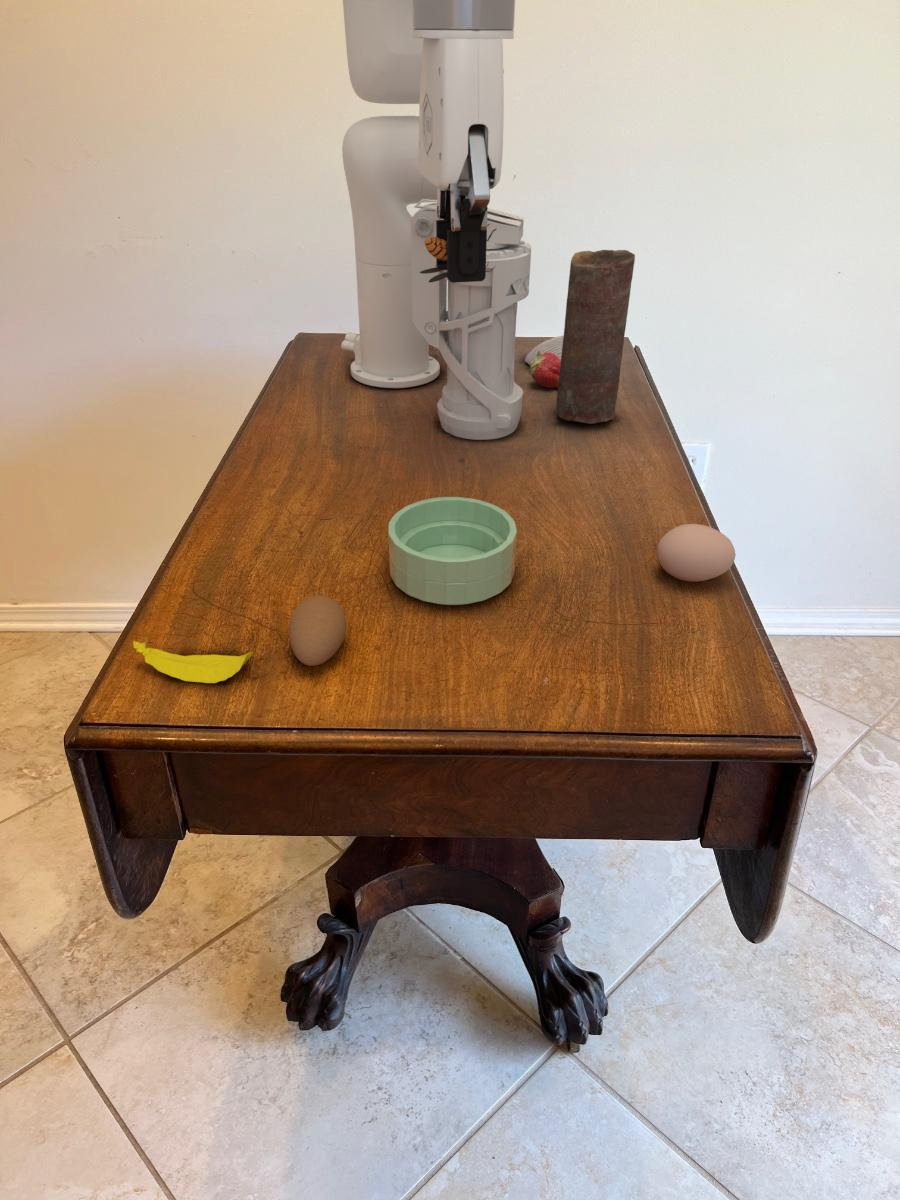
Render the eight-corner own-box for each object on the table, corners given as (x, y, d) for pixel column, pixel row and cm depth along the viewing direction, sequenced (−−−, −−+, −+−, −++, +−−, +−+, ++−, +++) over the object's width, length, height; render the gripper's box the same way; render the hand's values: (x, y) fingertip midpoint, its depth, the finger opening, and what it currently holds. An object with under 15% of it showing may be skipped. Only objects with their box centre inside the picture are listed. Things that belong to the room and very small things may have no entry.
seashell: (602, 356, 115) (532, 337, 115) (589, 392, 119) (521, 374, 119) (601, 332, 124) (536, 314, 123) (590, 366, 127) (526, 349, 127)
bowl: (365, 584, 75) (362, 535, 72) (435, 531, 82) (435, 485, 79) (471, 625, 70) (472, 575, 67) (535, 565, 77) (539, 518, 74)
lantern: (525, 411, 107) (538, 198, 93) (516, 444, 99) (528, 216, 85) (426, 403, 109) (424, 194, 95) (409, 436, 101) (404, 211, 86)
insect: (488, 208, 71) (485, 269, 74) (419, 209, 70) (418, 271, 73) (502, 217, 68) (498, 280, 71) (430, 218, 67) (429, 283, 70)
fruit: (571, 392, 113) (574, 356, 110) (527, 390, 113) (529, 354, 110) (571, 381, 116) (574, 346, 113) (528, 379, 117) (530, 344, 114)
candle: (612, 435, 102) (634, 262, 90) (552, 429, 103) (566, 258, 91) (615, 411, 108) (636, 246, 96) (558, 406, 109) (572, 243, 97)
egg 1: (311, 616, 69) (295, 679, 66) (288, 585, 66) (269, 649, 63) (360, 613, 68) (346, 677, 65) (339, 580, 65) (323, 646, 61)
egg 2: (662, 549, 71) (744, 554, 70) (660, 509, 75) (738, 514, 74) (653, 590, 75) (731, 596, 74) (651, 551, 78) (726, 556, 78)
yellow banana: (144, 651, 67) (127, 679, 64) (139, 630, 65) (121, 658, 63) (262, 659, 66) (249, 687, 63) (259, 638, 65) (246, 667, 62)
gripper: (394, 15, 67) (400, 255, 78) (437, 13, 54) (438, 303, 65) (484, 16, 69) (478, 251, 79) (547, 15, 56) (530, 298, 66)
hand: (460, 272), depth 72 cm, fingers closed on insect, 3 cm apart
